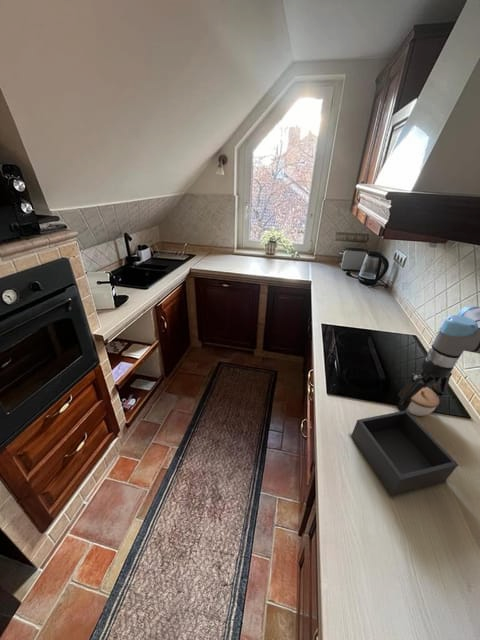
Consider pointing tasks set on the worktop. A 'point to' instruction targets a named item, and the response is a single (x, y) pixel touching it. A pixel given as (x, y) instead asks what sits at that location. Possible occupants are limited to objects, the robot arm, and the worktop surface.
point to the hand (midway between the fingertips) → (413, 407)
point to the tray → (402, 452)
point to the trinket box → (423, 402)
